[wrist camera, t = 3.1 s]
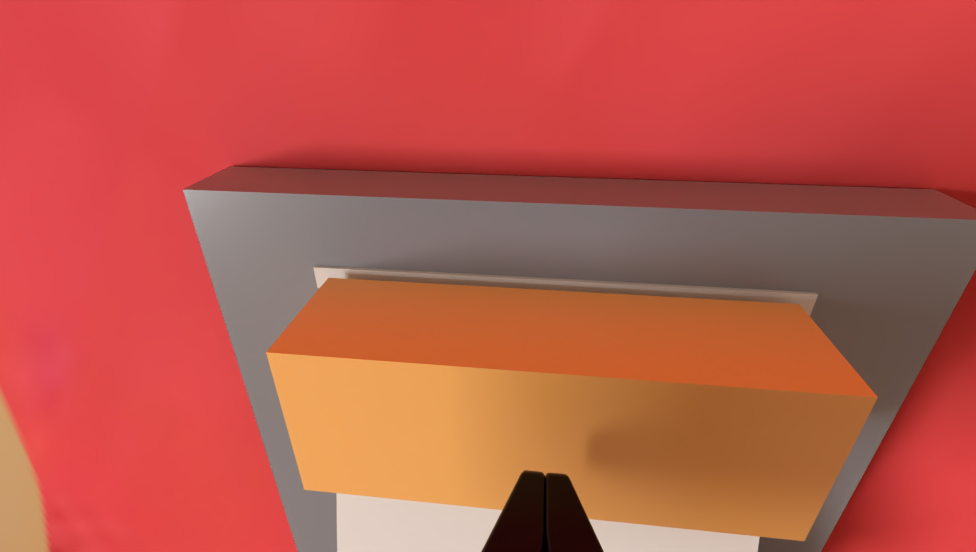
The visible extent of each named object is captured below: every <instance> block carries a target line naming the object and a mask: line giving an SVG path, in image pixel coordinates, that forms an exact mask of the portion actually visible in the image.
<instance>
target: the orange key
mask: <svg viewBox="0 0 976 552" xmlns="http://www.w3.org/2000/svg"><path fill="white" fill-rule="evenodd" d="M266 354H267V358H268V361H269V365H270V369H271V372H272V376H273V379H274V383H275V387H276V390H277V394H278V397H279V401H280V405H281V408H282V412H283V415H284V419H285V422H286V426H287V430H288V433H289V437H290V440H291V444H292V448H293V451H294V455H295V458H296V462H297V466H298V469H299V473H300V476H301V480H302V483H303V487H304V490H312V491H321V492H331V493H341V494H351V495H360V496H370V497H380V498H389V499H399V500H409V501H419V502H428V503H438V504H448V505H457V506H467V507H477V508H487V509H496V510H503V508H504V506H505V504H506V502H507V500H508V498H509V496H510V494H511V492H512V490H513V488H514V486H515V484H516V482H517V480H518V478H519V476H520V474H521V473H522V472H523V471H525V470H529V471H539V472H543V473H544V475H546V474H547V473H549V472H550V473H561V474H566V475H567V476H568V477H569V478H570V480H571V482H572V484H573V486H574V489H575V491H576V493H577V495H578V497H579V499H580V501H581V504H582V506H583V508H584V510H585V512H586V514H587V517H588V519H593V520H603V521H613V522H623V523H632V524H642V525H652V526H661V527H671V528H681V529H691V530H700V531H710V532H720V533H729V534H739V535H749V536H759V537H768V538H778V539H788V540H797V541H805V539H806V537H807V535H808V533H809V531H810V529H811V527H812V525H813V523H814V521H815V519H816V517H817V515H818V514H819V512H820V510H821V508H822V506H823V504H824V502H825V500H826V498H827V496H828V494H829V492H830V490H831V488H832V486H833V484H834V482H835V480H836V478H837V476H838V474H839V472H840V471H841V469H842V467H843V465H844V463H845V461H846V459H847V457H848V455H849V453H850V451H851V449H852V447H853V445H854V443H855V441H856V439H857V437H858V435H859V433H860V431H861V430H862V428H863V426H864V424H865V422H866V420H867V418H868V416H869V414H870V412H871V410H872V408H873V406H874V404H875V402H876V400H877V398H878V397H877V396H876V394H875V393H874V392H873V391H872V390H871V388H870V387H869V386H868V385H867V384H866V383H865V381H864V380H863V379H862V378H861V377H860V375H859V374H858V373H857V372H856V371H855V370H854V368H853V367H852V366H851V365H850V364H849V362H848V361H847V360H846V359H845V358H844V356H843V355H842V354H841V353H840V352H839V351H838V349H837V348H836V347H835V346H834V345H833V343H832V342H831V341H830V340H829V339H828V337H827V336H826V335H825V334H824V333H823V332H822V330H821V329H820V328H819V327H818V326H817V324H816V323H815V322H814V321H813V320H812V318H811V317H810V316H809V315H808V314H807V313H806V311H805V310H804V309H803V308H802V307H801V305H800V304H789V303H771V302H754V301H736V300H718V299H700V298H682V297H664V296H647V295H629V294H611V293H593V292H575V291H558V290H540V289H522V288H504V287H486V286H469V285H451V284H433V283H415V282H397V281H380V280H362V279H344V278H328V279H327V280H326V281H325V282H324V283H323V285H322V286H321V287H320V288H319V289H318V291H317V292H316V293H315V294H314V295H313V297H312V298H311V299H310V300H309V301H308V303H307V304H306V305H305V306H304V307H303V309H302V310H301V311H300V312H299V313H298V315H297V316H296V317H295V318H294V319H293V321H292V322H291V323H290V324H289V325H288V327H287V328H286V329H285V330H284V331H283V333H282V334H281V335H280V336H279V337H278V339H277V340H276V341H275V342H274V343H273V345H272V346H271V347H270V348H269V349H268V351H267V352H266Z"/></svg>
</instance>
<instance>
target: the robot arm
mask: <svg viewBox="0 0 976 552" xmlns="http://www.w3.org/2000/svg"><path fill="white" fill-rule="evenodd" d="M481 552H604V551H603V549H602V547H601V545H600V542H599V540H598V538H597V536H596V534H595V532H594V529H593V527H592V525H591V523H590V521H589V519H588V517H587V514H586V512H585V510H584V508H583V506H582V504H581V501H580V499H579V497H578V495H577V493H576V491H575V489H574V486H573V484H572V482H571V480H570V478H569V477H568V476H567V475H566V474H561V473H550V472H549V473H547V474H546V475H544V473H543V472H539V471H529V470H525V471H523V472H522V473H521V474H520V476H519V478H518V480H517V482H516V484H515V486H514V488H513V490H512V492H511V494H510V496H509V498H508V500H507V502H506V504H505V506H504V508H503V510H502V512H501V514H500V516H499V518H498V520H497V522H496V524H495V526H494V527H493V529H492V531H491V533H490V535H489V537H488V539H487V541H486V543H485V545H484V547H483V549H482V551H481Z"/></svg>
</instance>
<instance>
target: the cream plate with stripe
mask: <svg viewBox="0 0 976 552" xmlns="http://www.w3.org/2000/svg"><path fill="white" fill-rule="evenodd" d="M336 496H337V552H481V551H482V549H483V547H484V545H485V543H486V541H487V539H488V537H489V535H490V533H491V531H492V529H493V527H494V526H495V524H496V522H497V520H498V518H499V516H500V514H501V512H502V510H496V509H487V508H477V507H467V506H457V505H448V504H438V503H428V502H419V501H409V500H399V499H389V498H380V497H370V496H360V495H351V494H341V493H336ZM589 521H590V523H591V525H592V527H593V529H594V532H595V534H596V536H597V538H598V540H599V542H600V545H601V547H602V549H603V551H604V552H758V545H759V538H760V537H759V536H749V535H739V534H729V533H720V532H710V531H700V530H691V529H681V528H671V527H661V526H652V525H642V524H632V523H623V522H613V521H603V520H593V519H589Z"/></svg>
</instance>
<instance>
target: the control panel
mask: <svg viewBox="0 0 976 552" xmlns="http://www.w3.org/2000/svg"><path fill="white" fill-rule="evenodd" d="M183 192H184V195H185V198H186V201H187V205H188V208H189V211H190V214H191V217H192V220H193V224H194V227H195V230H196V233H197V236H198V239H199V242H200V246H201V249H202V252H203V255H204V258H205V261H206V264H207V268H208V271H209V274H210V277H211V280H212V283H213V286H214V290H215V293H216V296H217V299H218V302H219V305H220V308H221V312H222V315H223V318H224V321H225V324H226V327H227V330H228V334H229V337H230V340H231V343H232V346H233V349H234V352H235V356H236V359H237V362H238V365H239V368H240V371H241V375H242V378H243V381H244V384H245V387H246V390H247V393H248V397H249V400H250V403H251V406H252V409H253V412H254V415H255V419H256V422H257V425H258V428H259V431H260V434H261V437H262V441H263V444H264V447H265V450H266V453H267V456H268V459H269V463H270V466H271V469H272V472H273V475H274V478H275V481H276V485H277V488H278V491H279V494H280V497H281V500H282V504H283V507H284V510H285V513H286V516H287V519H288V522H289V526H290V529H291V532H292V535H293V538H294V541H295V544H296V548H297V551H298V552H337V496H336V493H331V492H321V491H312V490H304V487H303V483H302V480H301V476H300V473H299V469H298V466H297V462H296V458H295V455H294V451H293V448H292V444H291V440H290V437H289V433H288V430H287V426H286V422H285V419H284V415H283V412H282V408H281V405H280V401H279V397H278V394H277V390H276V387H275V383H274V379H273V376H272V372H271V369H270V365H269V361H268V358H267V354H266V352H267V351H268V349H269V348H270V347H271V346H272V345H273V343H274V342H275V341H276V340H277V339H278V337H279V336H280V335H281V334H282V333H283V331H284V330H285V329H286V328H287V327H288V325H289V324H290V323H291V322H292V321H293V319H294V318H295V317H296V316H297V315H298V313H299V312H300V311H301V310H302V309H303V307H304V306H305V305H306V304H307V303H308V301H309V300H310V299H311V298H312V297H313V295H314V294H315V293H316V292H317V291H318V289H319V288H320V287H321V286H322V285H323V283H324V282H325V281H326V280H327V279H328V278H344V279H362V280H380V281H397V282H415V283H433V284H451V285H469V286H486V287H504V288H522V289H540V290H558V291H575V292H593V293H611V294H629V295H647V296H664V297H682V298H700V299H718V300H736V301H754V302H771V303H789V304H800V305H801V307H802V308H803V309H804V310H805V311H806V313H807V314H808V315H809V316H810V317H811V318H812V320H813V321H814V322H815V323H816V324H817V326H818V327H819V328H820V329H821V330H822V332H823V333H824V334H825V335H826V336H827V337H828V339H829V340H830V341H831V342H832V343H833V345H834V346H835V347H836V348H837V349H838V351H839V352H840V353H841V354H842V355H843V356H844V358H845V359H846V360H847V361H848V362H849V364H850V365H851V366H852V367H853V368H854V370H855V371H856V372H857V373H858V374H859V375H860V377H861V378H862V379H863V380H864V381H865V383H866V384H867V385H868V386H869V387H870V388H871V390H872V391H873V392H874V393H875V394H876V396H877V397H878V398H877V400H876V402H875V404H874V406H873V408H872V410H871V412H870V414H869V416H868V418H867V420H866V422H865V424H864V426H863V428H862V430H861V431H860V433H859V435H858V437H857V439H856V441H855V443H854V445H853V447H852V449H851V451H850V453H849V455H848V457H847V459H846V461H845V463H844V465H843V467H842V469H841V471H840V472H839V474H838V476H837V478H836V480H835V482H834V484H833V486H832V488H831V490H830V492H829V494H828V496H827V498H826V500H825V502H824V504H823V506H822V508H821V510H820V512H819V514H818V515H817V517H816V519H815V521H814V523H813V525H812V527H811V529H810V531H809V533H808V535H807V537H806V539H805V541H797V540H788V539H778V538H768V537H760V538H759V545H758V552H821V551H822V549H823V547H824V545H825V543H826V542H827V540H828V538H829V536H830V534H831V532H832V531H833V529H834V527H835V525H836V523H837V522H838V520H839V518H840V516H841V514H842V512H843V511H844V509H845V507H846V505H847V503H848V501H849V500H850V498H851V496H852V494H853V492H854V491H855V489H856V487H857V485H858V483H859V481H860V480H861V478H862V476H863V474H864V472H865V470H866V469H867V467H868V465H869V463H870V461H871V460H872V458H873V456H874V454H875V452H876V450H877V449H878V447H879V445H880V443H881V441H882V439H883V438H884V436H885V434H886V432H887V430H888V429H889V427H890V425H891V423H892V421H893V419H894V418H895V416H896V414H897V412H898V410H899V408H900V407H901V405H902V403H903V401H904V399H905V398H906V396H907V394H908V392H909V390H910V388H911V387H912V385H913V383H914V381H915V379H916V377H917V376H918V374H919V372H920V370H921V368H922V367H923V365H924V363H925V361H926V359H927V357H928V356H929V354H930V352H931V350H932V348H933V346H934V345H935V343H936V341H937V339H938V337H939V336H940V334H941V332H942V330H943V328H944V326H945V325H946V323H947V321H948V319H949V317H950V315H951V314H952V312H953V310H954V308H955V306H956V305H957V303H958V301H959V299H960V297H961V295H962V294H963V292H964V290H965V288H966V286H967V284H968V283H969V281H970V279H971V277H972V275H973V273H974V272H975V270H976V208H974V207H972V206H970V205H967V204H965V203H963V202H961V201H959V200H957V199H955V198H952V197H950V196H948V195H946V194H944V193H942V192H940V191H937V190H935V189H912V188H881V187H851V186H820V185H789V184H759V183H728V182H697V181H666V180H636V179H605V178H574V177H544V176H513V175H482V174H452V173H421V172H390V171H360V170H329V169H298V168H267V167H237V166H230V167H228V168H226V169H224V170H222V171H220V172H218V173H216V174H214V175H212V176H210V177H207V178H205V179H203V180H201V181H199V182H197V183H195V184H193V185H191V186H189V187H187V188H185V189H183Z"/></svg>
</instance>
